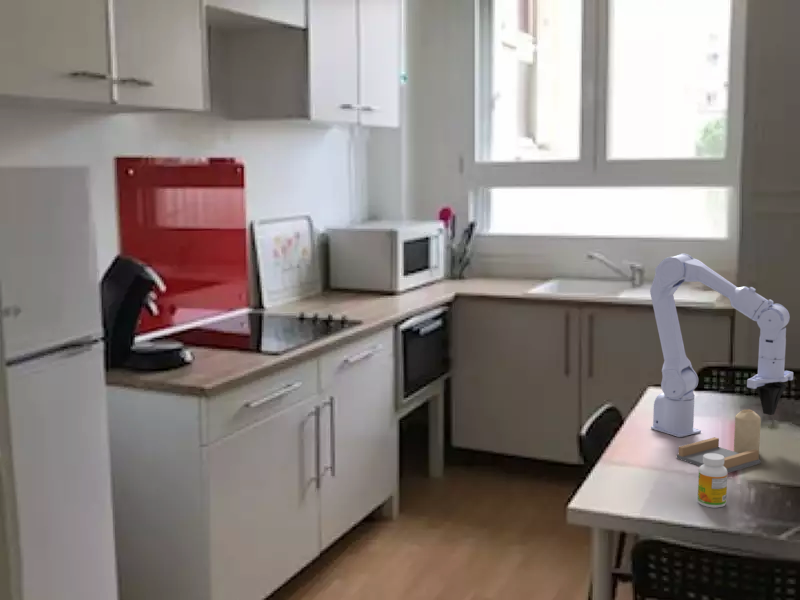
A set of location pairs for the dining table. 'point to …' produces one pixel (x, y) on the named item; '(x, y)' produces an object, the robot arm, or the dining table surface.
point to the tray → (711, 445)
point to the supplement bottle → (712, 481)
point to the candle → (747, 431)
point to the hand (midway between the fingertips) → (768, 413)
